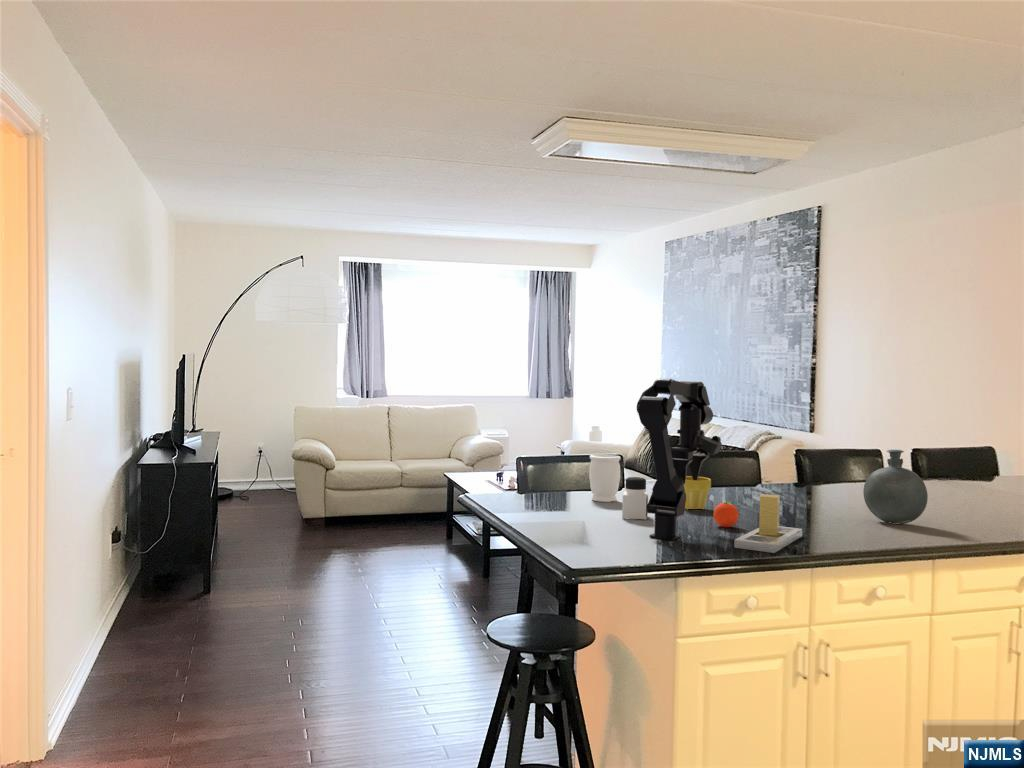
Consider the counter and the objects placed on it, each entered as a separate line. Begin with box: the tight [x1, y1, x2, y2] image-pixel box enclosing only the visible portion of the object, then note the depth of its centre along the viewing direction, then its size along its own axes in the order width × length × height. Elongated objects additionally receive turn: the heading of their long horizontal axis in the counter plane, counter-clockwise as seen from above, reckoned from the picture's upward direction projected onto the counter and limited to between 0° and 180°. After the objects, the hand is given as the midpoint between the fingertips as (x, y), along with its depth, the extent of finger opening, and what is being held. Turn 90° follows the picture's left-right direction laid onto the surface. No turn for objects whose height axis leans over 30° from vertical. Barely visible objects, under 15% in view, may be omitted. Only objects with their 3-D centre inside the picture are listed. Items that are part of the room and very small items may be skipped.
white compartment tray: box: [733, 525, 803, 554], centre depth 222 cm, size 26×10×2 cm, turn 147°
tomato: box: [713, 501, 739, 528], centre depth 242 cm, size 8×7×7 cm
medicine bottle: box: [621, 476, 649, 521], centre depth 254 cm, size 7×7×12 cm
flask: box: [863, 449, 929, 525], centre depth 252 cm, size 12×17×22 cm
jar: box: [588, 453, 621, 503], centre depth 285 cm, size 11×10×15 cm
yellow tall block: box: [758, 493, 781, 538], centre depth 222 cm, size 4×4×12 cm
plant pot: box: [684, 475, 712, 510], centre depth 272 cm, size 10×10×10 cm
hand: (689, 481), depth 238 cm, fingers open, 9 cm apart
